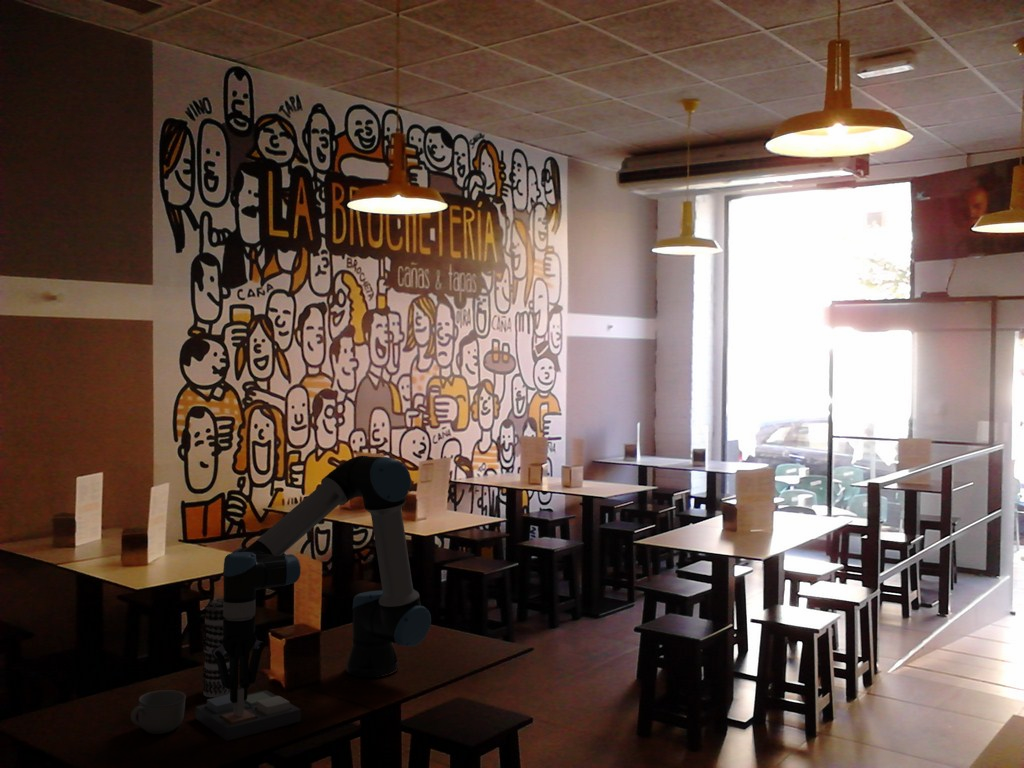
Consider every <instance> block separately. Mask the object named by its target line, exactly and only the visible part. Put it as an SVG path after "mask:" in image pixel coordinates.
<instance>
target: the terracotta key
mask: <svg viewBox="0 0 1024 768" xmlns="http://www.w3.org/2000/svg"><path fill="white" fill-rule="evenodd" d="M222 719H223V720H224V721H226V722H227V723H229V724H230V725H232V724H236V723H240V722H244V721H248V720H252V719H256V716H255V715H253V714H252V713H250V712H248V711H247V710H245V709H244V716H240V717H237V716H236V715H234V714H233V712H232V713H228V714H224V715H222Z"/></svg>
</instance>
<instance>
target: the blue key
mask: <svg viewBox="0 0 1024 768" xmlns="http://www.w3.org/2000/svg"><path fill="white" fill-rule="evenodd" d="M206 704H207V709H208V710H210V711H211V712H213V713H214V714H219V713H223V712H227V711H232V710H233V703H232V702H231V701H230V694H229V695H225V696H220V697H216V698H208V699H206Z"/></svg>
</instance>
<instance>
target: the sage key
mask: <svg viewBox="0 0 1024 768" xmlns="http://www.w3.org/2000/svg"><path fill="white" fill-rule="evenodd" d="M267 698H271V697H270V696H269V695H267V694H265V693H263V692H261V693H257V694H253V695H248V696H247V700H244V703H246V704H248V705H249V706H252V705H256V701H258V700H262V699H267Z"/></svg>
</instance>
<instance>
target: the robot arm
mask: <svg viewBox="0 0 1024 768" xmlns="http://www.w3.org/2000/svg"><path fill="white" fill-rule="evenodd" d="M320 481H321V482H320V485H319V486H318V487H317V488H315V490H314V491H312V492H310V493H309V495H307V497H305V498H303V500H301V502H299V503H298V504H297V505H295V507H294V508H292V509H290V511H289V512H287V513H286V514H284V516H283V517H282V518H280V519H279V520H278V521H277V522H276V523H275V524H273V525H272V526H271V527H270V528H269V529H268V530H266V532H264V533H263V534H262V535H261V536H259V537H258V538H257V539H256V540H254V542H252V544H250V545H249V546H248V547H240V548H237V549H235V550H233V551H232V552H230V553H228V554H227V555H226V556H224V560H223V561H224V562H223V571H222V575H223V599H224V600H223V616H224V617H225V619H224V620H223V640H222V642H221V646H220V647H219V648H217V649H213V650H212V654H213V655H214V656H215V658H216V661H217V665H218V669H219V673H220V678H221V682H222V686H224V687H225V688H227V689H230V701H231V702H232V703H233V714H234V715H236V716H237V717H240V716H244V700H247V694H248V689H249V688H250V685H251V684H254V683H256V678H257V675H258V671H259V666H260V662H261V656H262V652H263V651H264V650H265V647H266V642H264V641H262V640H260V639H257V638H258V637H257V635H256V617H255V615H256V605H257V604H256V602H257V601H256V600H257V599H256V597H257V590H259V591H260V590H265V589H269V588H270V589H271V588H277V587H282V586H283V587H286V586H288V585H292V584H295V583H296V582H297V581H299V579H300V576H301V569H302V568H301V563H300V560H299V558H298V557H297V556H296V555H294V554H284V553H287V551H288V550H289V549H290V548H291V547H293V546H294V545H295V544H296V543H297V542H298V541H300V539H302V538H303V537H304V536H305V535H306V534H308V532H310V531H311V530H312V529H313V528H314V527H315V526H317V524H319V523H320V522H321V521H322V520H324V519H325V518H326V517H327V516H328V515H329V514H330V513H332V512H333V510H335V509H336V508H337V507H338V506H344V505H346V504H347V503H348V502H349V501H351V500H353V499H355V498H361V497H362V500H363V508H364V510H365V511H367V512H368V513H369V514H370V516H371V524H372V531H373V537H374V543H375V550H376V557H377V562H378V568H379V571H378V572H379V576H380V584H381V589H382V590H371V591H365V592H360V593H357V594H356V595H355V596H354V597H353V599H352V600H353V601H352V607H351V609H352V645H351V649H350V653H349V656H348V658H347V662H346V670H347V671H346V673H347V672H348V673H349V674H351V675H354V676H358V677H357V678H360V677H377V676H382V675H385V674H389V673H391V672H393V671H395V670H396V669H397V668H398V669H399V661H398V660H399V659H398V657H397V653H396V650H395V647H394V644H397V645H398V646H401V647H402V646H403V647H408V648H410V647H416V646H417V645H419V644H420V643H421V642H423V640H425V638H426V637H427V634H428V633H429V631H430V629H431V626H432V625H431V624H432V615H431V612H430V611H429V609H428V608H427V607H425V606H424V605H422V604H421V603H422V602H421V596H420V593H419V592H418V591H417V590H415V589H414V586H413V580H412V573H411V566H410V565H411V563H410V559H409V553H408V546H407V545H408V544H407V539H406V538H407V537H406V532H405V531H406V530H405V525H404V519H403V517H404V516H403V511H402V508H403V507H404V505H405V504H406V502H407V500H406V497H407V495H408V494H409V493H410V492H409V491H410V489H411V486H412V477H411V474H410V471H409V469H408V467H407V466H406V465H405V463H403V462H402V461H400V460H399V459H395V458H391V457H388V456H369V455H358V456H354V457H352V458H349V459H347V460H346V461H344V462H343V463H341V464H339V466H337V467H336V468H334V469H333V470H331V471H330V472H329V473H328V474H327V475H326V476H324V477H322V479H321V480H320ZM224 650H225V651H226V652H227V653H228V654H229V674H228V670H227V666H226V661H225V658H224ZM251 651H252V653H251V655H250V652H251ZM250 657H251V658H250ZM249 659H250V661H249ZM348 673H347V674H348ZM349 674H348V675H349ZM351 675H350V676H351ZM354 676H353V677H354Z"/></svg>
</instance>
